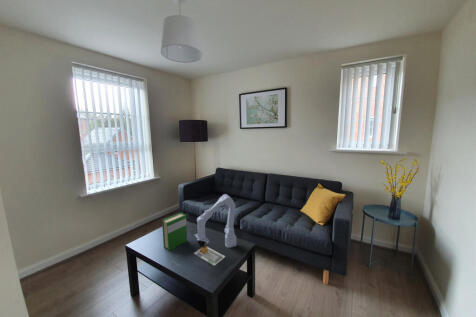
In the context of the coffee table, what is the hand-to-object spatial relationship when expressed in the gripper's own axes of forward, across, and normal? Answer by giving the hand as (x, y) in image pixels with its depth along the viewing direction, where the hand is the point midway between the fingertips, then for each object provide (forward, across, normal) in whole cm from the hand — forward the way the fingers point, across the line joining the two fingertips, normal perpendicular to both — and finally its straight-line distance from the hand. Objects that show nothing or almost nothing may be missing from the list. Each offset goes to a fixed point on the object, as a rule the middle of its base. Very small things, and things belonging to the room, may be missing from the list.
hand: (201, 248), depth 149 cm
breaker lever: (+2, +3, 0) cm, 4 cm away
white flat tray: (+4, +8, 0) cm, 9 cm away
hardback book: (+4, -26, -6) cm, 27 cm away
